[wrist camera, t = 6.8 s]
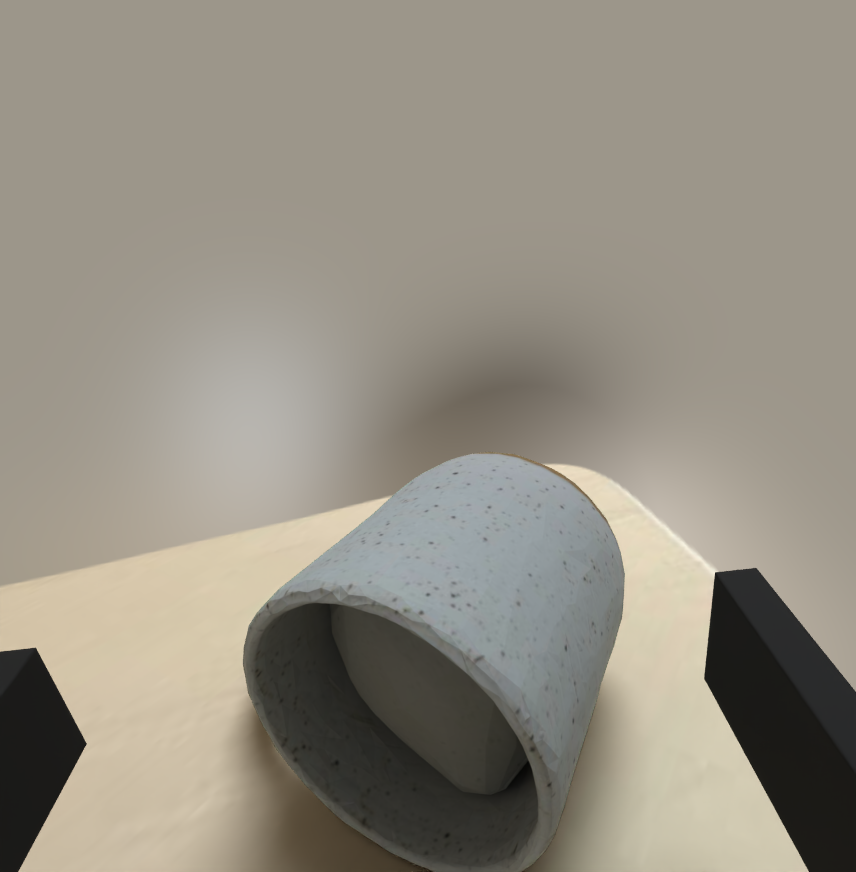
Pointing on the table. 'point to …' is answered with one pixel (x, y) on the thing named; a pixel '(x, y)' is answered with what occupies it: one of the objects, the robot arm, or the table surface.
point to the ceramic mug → (446, 662)
